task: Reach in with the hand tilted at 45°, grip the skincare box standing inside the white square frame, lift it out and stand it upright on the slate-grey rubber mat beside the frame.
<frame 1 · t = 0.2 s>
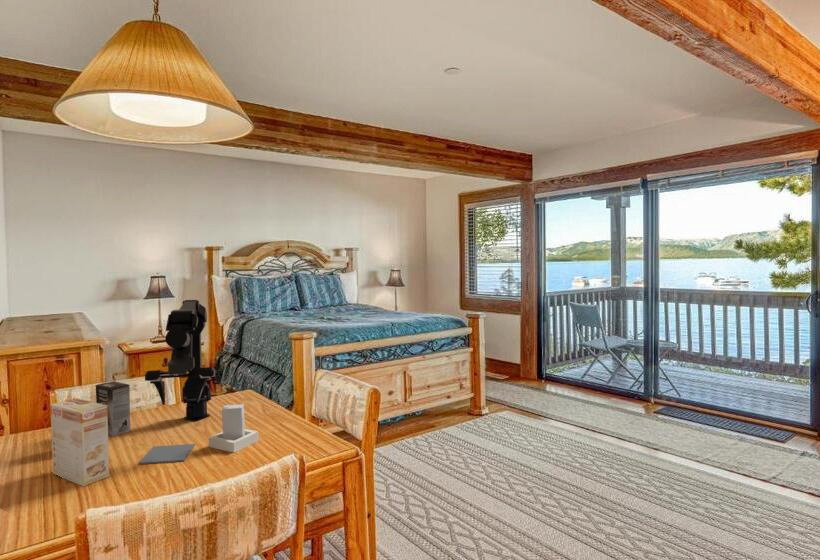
hand: (180, 403, 145), 15 cm above the table, tool tilted 15°, fingers open, 9 cm apart
skincare box: (234, 444, 153), resting in white square frame
mat: (168, 454, 145), on the table
coffee box: (113, 432, 164), on the table
coffeecake box: (81, 476, 131), on the table
white square frame: (234, 443, 153), on the table
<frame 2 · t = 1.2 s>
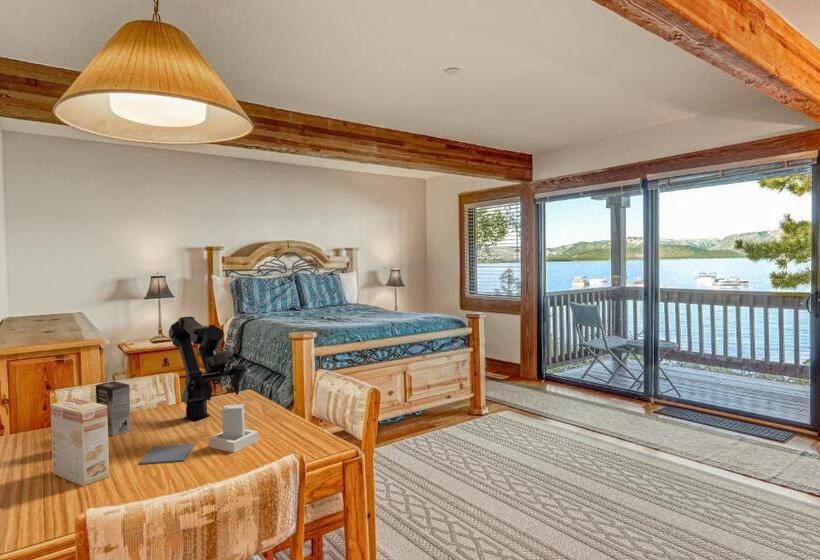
hand: (224, 397, 158), 13 cm above the table, tool tilted 45°, fingers open, 9 cm apart
nothing on the table moved.
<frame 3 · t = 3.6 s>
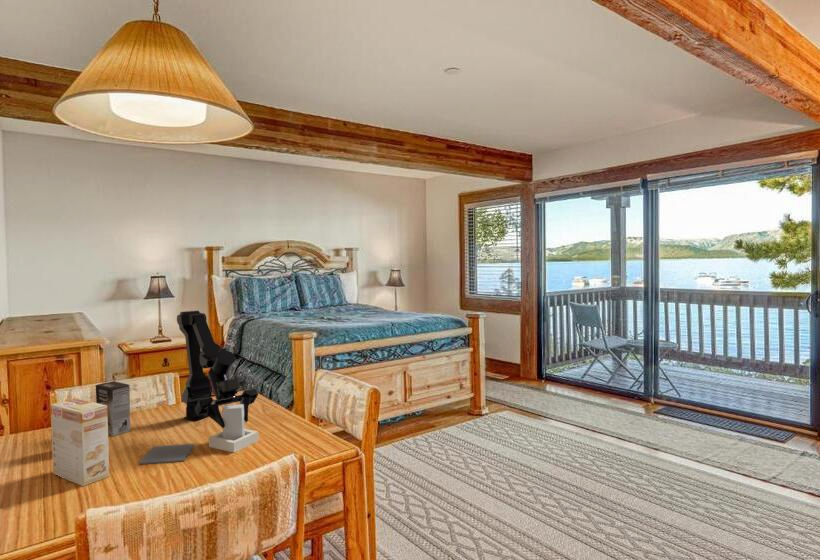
hand: (235, 424, 152), 7 cm above the table, tool tilted 45°, fingers closed on skincare box, 7 cm apart
skincare box: (234, 444, 153), resting in white square frame, touching gripper
everything else where it was.
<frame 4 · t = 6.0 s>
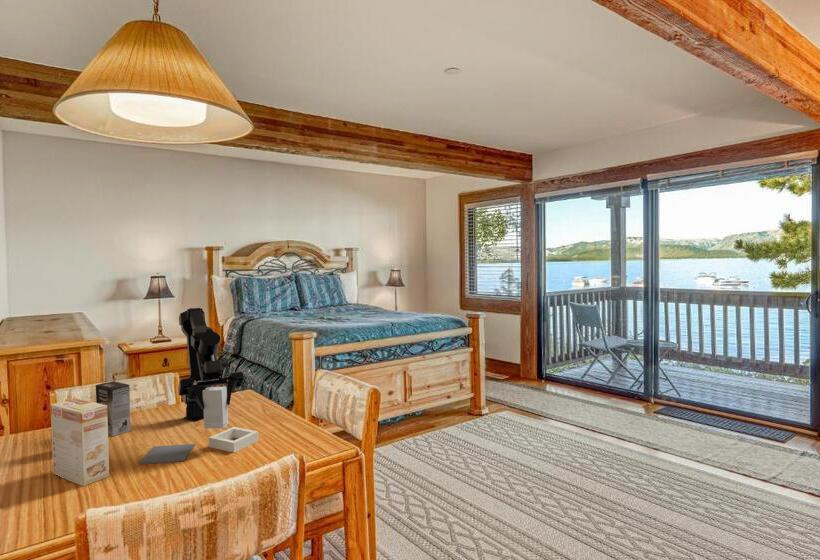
hand: (216, 406, 148), 13 cm above the table, tool tilted 45°, fingers closed on skincare box, 7 cm apart
skincare box: (215, 427, 149), point 6 cm above the table, touching gripper
everything else where it was.
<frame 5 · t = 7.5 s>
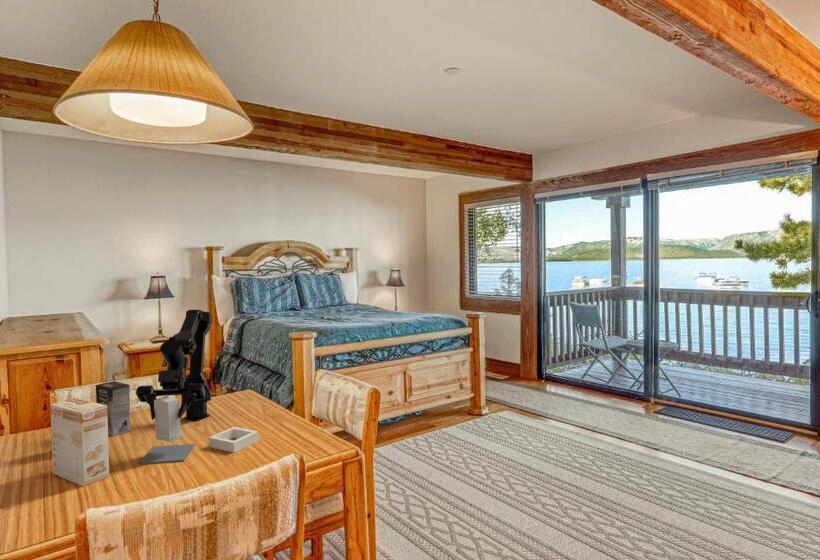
hand: (166, 418, 143), 11 cm above the table, tool tilted 45°, fingers closed on skincare box, 7 cm apart
skincare box: (167, 439, 145), point 4 cm above the table, touching gripper
everything else where it was.
when the fingers open (8 cm above the table, at t = 8.7 s): skincare box stays where it is, resting on mat.
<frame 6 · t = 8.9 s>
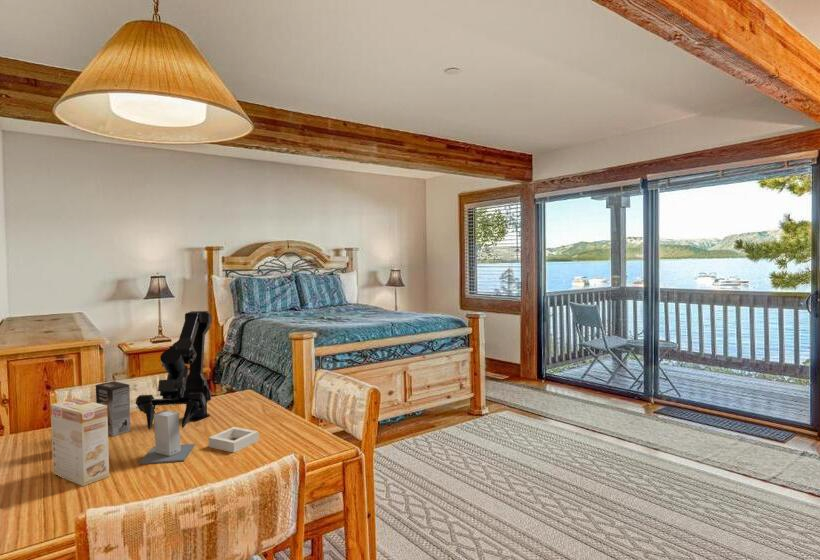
hand: (165, 428, 143), 9 cm above the table, tool tilted 45°, fingers open, 9 cm apart
skincare box: (167, 453, 145), resting on mat
everything else where it was.
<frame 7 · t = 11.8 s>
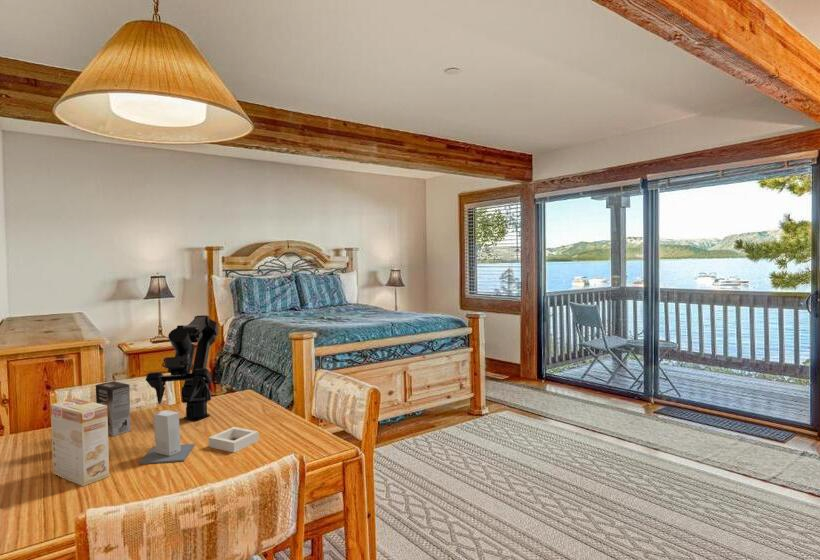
hand: (174, 402, 152), 14 cm above the table, tool tilted 45°, fingers open, 9 cm apart
nothing on the table moved.
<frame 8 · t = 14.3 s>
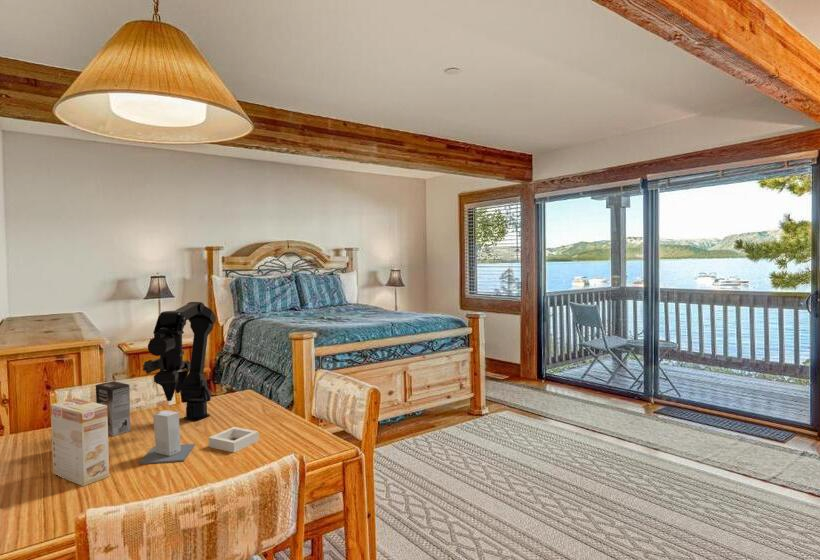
hand: (173, 396, 159), 13 cm above the table, tool pointing down, fingers open, 9 cm apart
nothing on the table moved.
at the end: skincare box inside the target area on the mat (0.3 cm from its centre), point 0.3 cm above the mat's base; skincare box tilted 0°; the gripper is holding nothing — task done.
